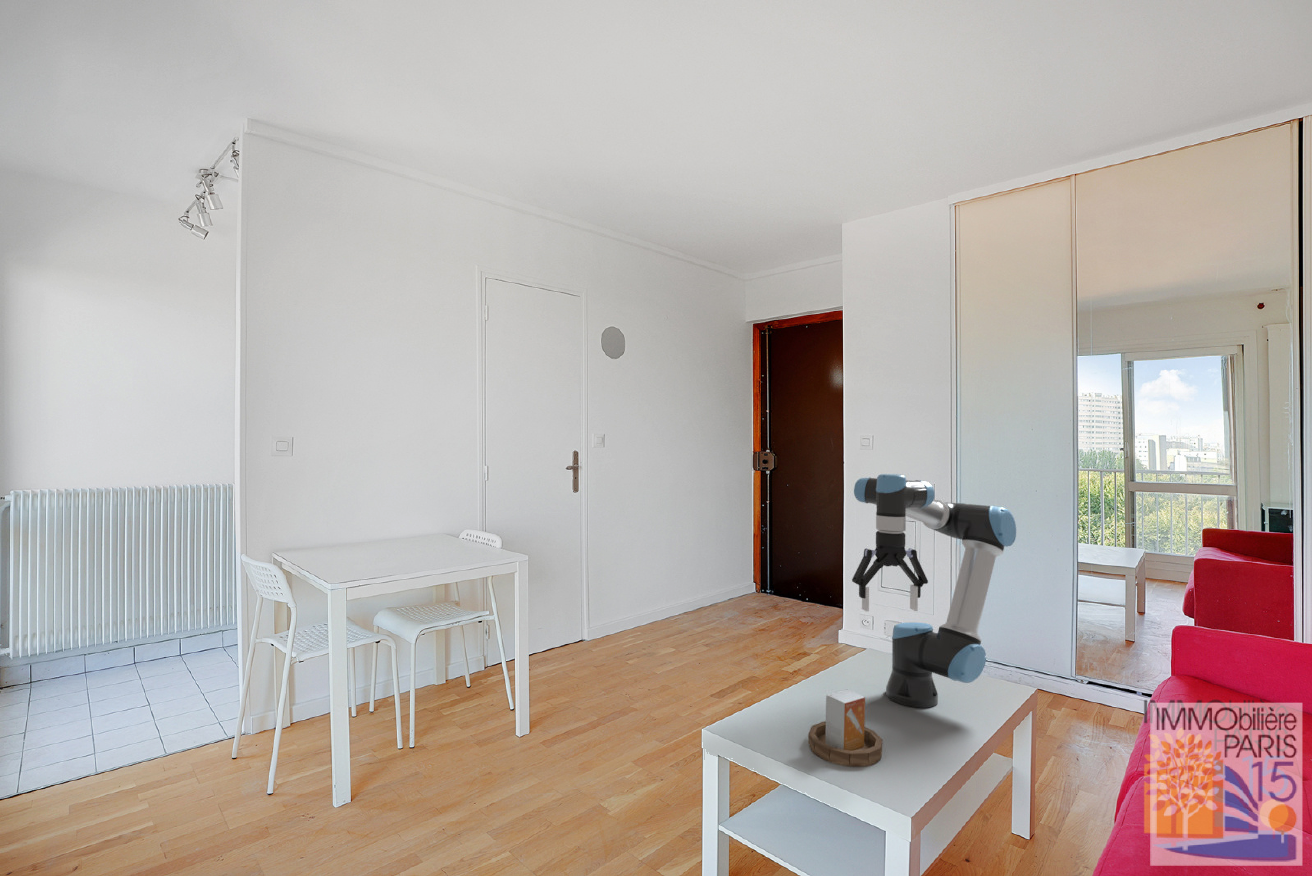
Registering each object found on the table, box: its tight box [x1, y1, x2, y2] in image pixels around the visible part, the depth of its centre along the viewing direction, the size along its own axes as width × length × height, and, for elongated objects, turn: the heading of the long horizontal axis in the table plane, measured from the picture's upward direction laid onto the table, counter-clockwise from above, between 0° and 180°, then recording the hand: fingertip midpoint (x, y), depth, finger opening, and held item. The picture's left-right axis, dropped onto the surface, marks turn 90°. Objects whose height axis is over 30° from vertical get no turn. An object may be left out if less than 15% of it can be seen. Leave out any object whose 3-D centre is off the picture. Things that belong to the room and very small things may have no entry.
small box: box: [825, 689, 866, 751], centre depth 164 cm, size 8×6×13 cm
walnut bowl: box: [807, 720, 884, 768], centre depth 164 cm, size 18×18×3 cm
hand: (889, 610), depth 171 cm, fingers open, 13 cm apart
